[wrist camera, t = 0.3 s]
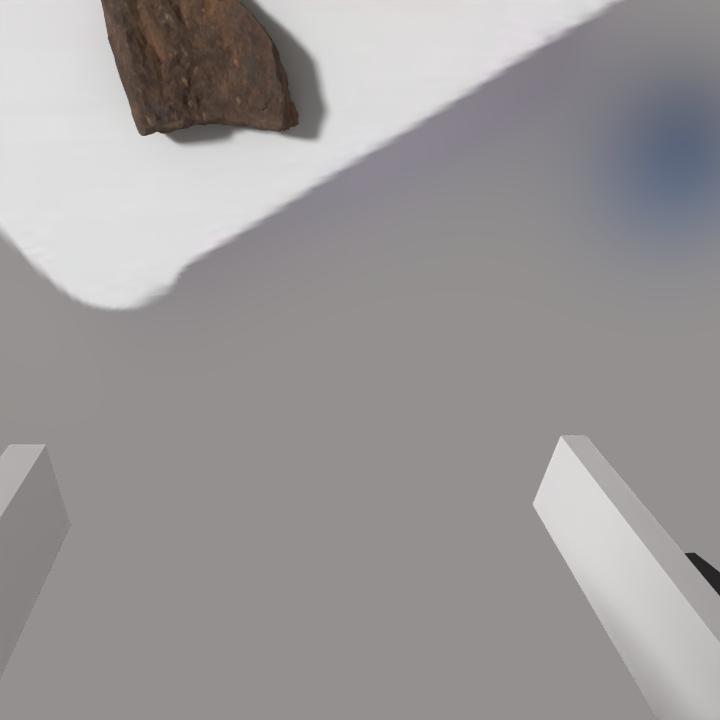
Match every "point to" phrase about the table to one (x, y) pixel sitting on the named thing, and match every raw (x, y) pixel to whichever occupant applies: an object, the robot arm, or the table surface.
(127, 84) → the rock
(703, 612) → the robot arm
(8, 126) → the table surface
